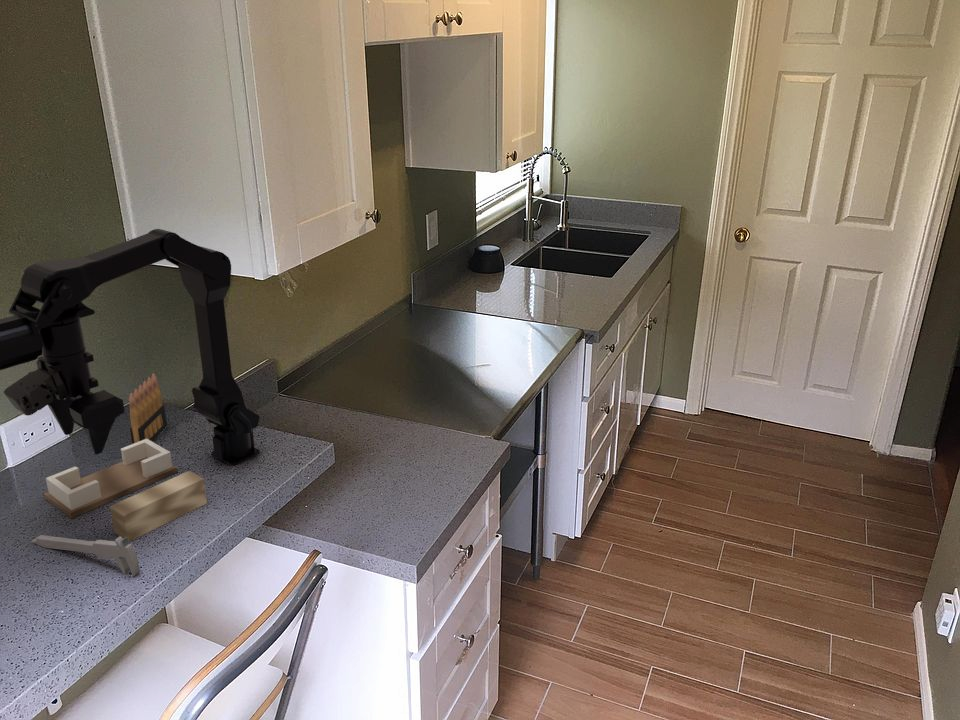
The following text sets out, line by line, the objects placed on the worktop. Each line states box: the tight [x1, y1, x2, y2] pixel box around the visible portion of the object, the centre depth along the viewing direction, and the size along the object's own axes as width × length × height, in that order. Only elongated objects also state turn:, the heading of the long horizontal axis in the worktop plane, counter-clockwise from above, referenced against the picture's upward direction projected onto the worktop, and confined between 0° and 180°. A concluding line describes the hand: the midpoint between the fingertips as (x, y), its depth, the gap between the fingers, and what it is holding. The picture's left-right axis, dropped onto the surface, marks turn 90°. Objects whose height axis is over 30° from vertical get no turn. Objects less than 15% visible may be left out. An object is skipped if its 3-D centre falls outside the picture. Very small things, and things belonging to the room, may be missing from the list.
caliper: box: [30, 534, 141, 577], centre depth 116 cm, size 20×1×6 cm, turn 69°
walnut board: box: [43, 457, 179, 519], centre depth 135 cm, size 19×9×1 cm, turn 142°
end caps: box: [45, 439, 173, 510], centre depth 134 cm, size 18×8×3 cm, turn 142°
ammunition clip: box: [128, 372, 168, 445], centre depth 148 cm, size 11×2×12 cm, turn 176°
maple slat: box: [109, 470, 208, 543], centre depth 126 cm, size 14×4×5 cm, turn 142°
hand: (83, 443), depth 120 cm, fingers open, 9 cm apart
